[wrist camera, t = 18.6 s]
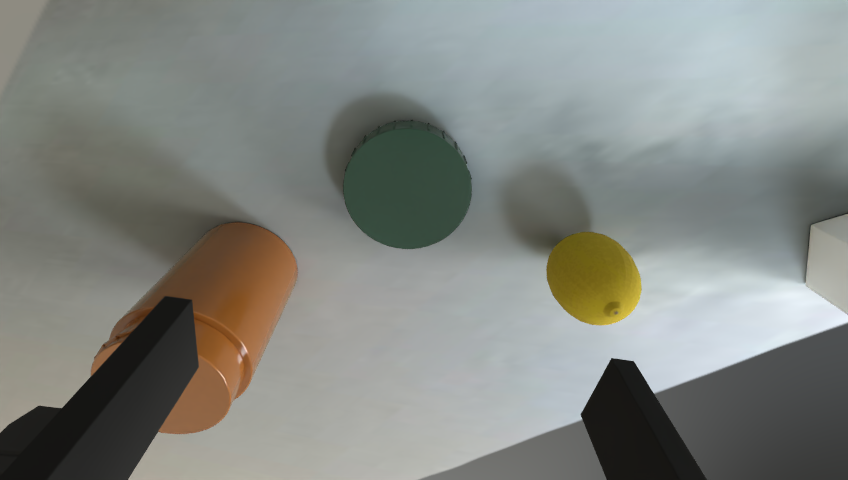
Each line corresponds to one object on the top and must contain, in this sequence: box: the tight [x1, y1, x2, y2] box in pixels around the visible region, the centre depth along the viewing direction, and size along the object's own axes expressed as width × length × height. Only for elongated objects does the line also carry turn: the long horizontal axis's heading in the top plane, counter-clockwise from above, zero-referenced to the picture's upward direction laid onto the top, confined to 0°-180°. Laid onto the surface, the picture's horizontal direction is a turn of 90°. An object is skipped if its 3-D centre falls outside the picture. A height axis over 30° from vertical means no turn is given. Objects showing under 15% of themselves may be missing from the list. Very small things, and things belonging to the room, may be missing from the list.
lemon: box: [547, 232, 641, 325], centre depth 28 cm, size 6×6×8 cm
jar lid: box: [343, 120, 472, 249], centre depth 27 cm, size 8×8×2 cm
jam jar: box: [91, 222, 297, 434], centre depth 26 cm, size 8×8×12 cm
